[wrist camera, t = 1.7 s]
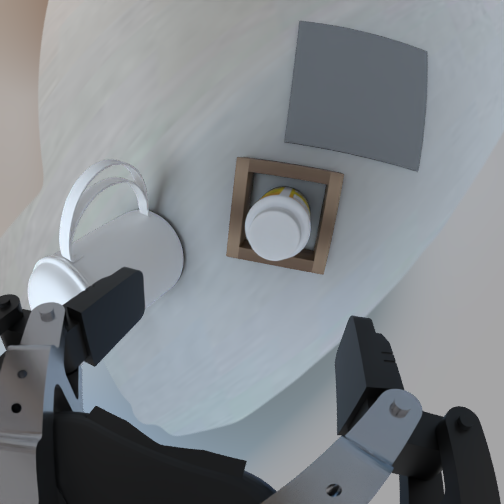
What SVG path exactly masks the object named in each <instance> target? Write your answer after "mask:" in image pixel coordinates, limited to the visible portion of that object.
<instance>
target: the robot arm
mask: <svg viewBox="0 0 504 504" xmlns="http://www.w3.org/2000/svg"><path fill="white" fill-rule="evenodd" d="M144 310H145V296H144V278H143V273H142V272H141V271H140V270H136V269H132V268H128V267H122V268H121V269H119V270H118V271H116V272H115V273H113V274H112V275H110V276H108V277H105V278H102V279H100V280H98V281H97V282H95V283H94V284H92V286H89V287H88V288H86V289H85V291H84V290H83V291H82V292H80V293H79V294H78V295H76V296H75V297H73V298H72V299H70V300H69V301H68V302H66V303H65V304H63V305H61V304H59V303H55V302H48V303H43V304H40V305H38V306H37V307H35V308H34V309H33V310H32V311H30V310H25V309H22V307H21V303H20V300H19V298H18V297H17V296H16V295H12V294H8V295H3V296H0V336H1V338H2V341H3V344H4V346H5V348H6V352H4V353H3V354H2V355H1V356H0V504H368V503H369V502H370V501H371V499H372V498H373V497H374V496H375V494H376V493H377V492H378V490H379V489H380V488H381V486H382V485H383V484H384V482H385V481H386V480H387V478H388V477H389V475H390V474H391V473H395V474H399V480H400V504H501V503H500V497H499V491H498V486H497V481H496V477H495V472H494V468H493V464H492V460H491V457H490V452H489V449H488V445H487V442H486V439H485V436H484V433H483V430H482V427H481V424H480V421H479V419H478V417H477V416H476V415H475V414H474V413H473V412H472V411H471V410H469V409H467V408H465V407H460V406H458V407H453V408H451V409H450V410H449V411H448V412H447V414H446V415H445V416H444V417H442V416H438V415H434V414H430V413H427V412H424V411H422V406H421V404H420V402H419V400H418V399H417V398H416V397H415V396H414V395H413V394H411V393H409V392H407V391H405V390H404V387H403V384H402V381H401V377H400V374H399V371H398V367H397V364H396V363H395V358H394V355H393V352H392V349H391V346H390V343H389V342H388V341H387V340H386V338H385V337H384V336H383V335H382V334H379V333H376V332H375V329H374V326H373V323H372V320H371V319H370V318H364V317H357V316H350V318H349V320H348V323H347V325H346V328H345V331H344V334H343V337H342V339H341V342H340V345H339V348H338V350H337V354H336V359H335V373H336V394H337V395H336V396H337V435H342V436H341V437H340V438H339V439H338V440H336V441H335V442H334V443H333V444H332V445H331V446H330V447H329V448H328V449H327V450H326V451H325V452H324V453H323V454H322V455H321V456H320V457H319V458H317V459H316V460H315V461H314V462H313V463H312V464H311V465H310V466H308V467H307V468H306V469H305V470H304V471H303V472H301V473H300V474H299V475H298V476H297V477H296V478H294V479H293V480H292V481H290V482H289V483H288V484H286V485H285V486H284V487H283V488H281V489H280V490H279V491H276V490H274V489H273V488H272V487H271V486H270V485H269V484H267V483H266V482H264V481H263V480H262V479H260V478H258V477H256V476H255V475H253V474H251V473H248V472H246V471H244V469H245V465H246V461H244V460H240V459H235V458H232V457H227V456H224V455H220V454H216V453H212V452H209V451H205V450H195V449H187V448H178V447H171V446H164V445H160V444H158V443H156V442H155V441H153V440H152V439H150V438H149V437H147V436H146V435H145V434H143V433H142V432H141V431H139V430H138V429H137V428H135V427H134V426H133V425H131V424H130V423H129V422H127V421H126V420H124V419H121V418H119V417H117V416H115V415H113V414H111V413H109V412H107V411H105V410H103V409H101V408H99V407H98V406H95V407H94V409H93V410H92V411H91V412H90V414H89V413H84V411H83V399H82V368H81V365H80V364H81V363H82V362H83V361H85V362H87V363H89V364H91V365H93V366H96V365H97V364H98V363H99V362H100V361H101V360H102V359H103V358H104V357H105V356H106V355H107V354H108V353H109V351H110V350H111V349H112V348H113V347H114V346H115V345H116V344H117V343H118V342H119V341H120V340H121V339H122V338H123V337H124V336H125V335H126V334H127V333H128V332H129V331H130V330H131V328H132V327H133V326H134V325H135V324H136V323H137V322H138V321H139V320H140V319H141V318H142V316H143V314H144ZM442 470H443V474H444V482H445V494H444V489H443V481H442V474H441V471H442Z"/></svg>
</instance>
